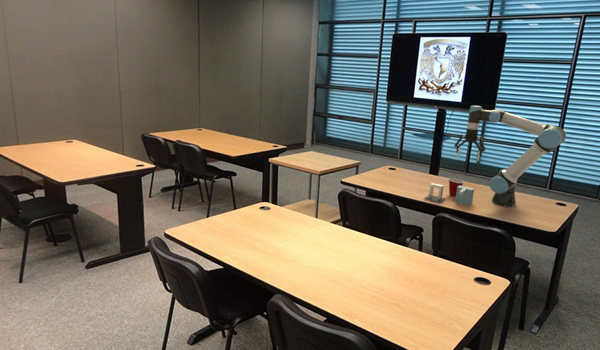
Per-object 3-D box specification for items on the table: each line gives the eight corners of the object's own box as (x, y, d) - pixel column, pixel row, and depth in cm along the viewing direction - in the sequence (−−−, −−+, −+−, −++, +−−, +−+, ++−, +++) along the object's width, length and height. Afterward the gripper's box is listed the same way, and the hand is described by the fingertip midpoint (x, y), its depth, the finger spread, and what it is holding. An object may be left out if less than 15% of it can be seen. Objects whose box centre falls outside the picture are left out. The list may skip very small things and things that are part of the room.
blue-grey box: (472, 203, 297) (474, 188, 294) (466, 209, 284) (468, 193, 281) (457, 200, 302) (459, 185, 299) (450, 206, 289) (453, 190, 287)
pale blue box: (441, 199, 301) (443, 185, 299) (439, 200, 298) (441, 186, 295) (430, 196, 306) (432, 183, 303) (428, 197, 302) (430, 184, 300)
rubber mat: (445, 199, 304) (446, 198, 303) (440, 203, 294) (440, 202, 294) (429, 195, 310) (429, 194, 310) (423, 199, 300) (423, 198, 300)
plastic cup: (460, 199, 306) (463, 182, 303) (444, 196, 311) (447, 180, 308) (462, 195, 315) (465, 179, 312) (447, 192, 320) (450, 176, 317)
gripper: (493, 130, 292) (487, 161, 297) (455, 125, 305) (451, 155, 310) (490, 131, 285) (485, 162, 291) (452, 126, 299) (448, 156, 304)
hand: (467, 158), depth 301 cm, fingers open, 13 cm apart
